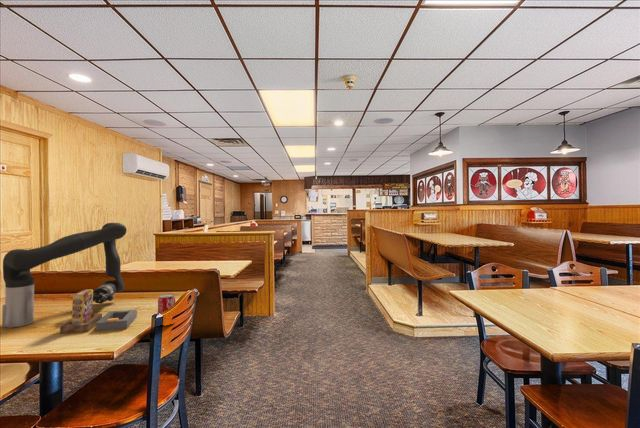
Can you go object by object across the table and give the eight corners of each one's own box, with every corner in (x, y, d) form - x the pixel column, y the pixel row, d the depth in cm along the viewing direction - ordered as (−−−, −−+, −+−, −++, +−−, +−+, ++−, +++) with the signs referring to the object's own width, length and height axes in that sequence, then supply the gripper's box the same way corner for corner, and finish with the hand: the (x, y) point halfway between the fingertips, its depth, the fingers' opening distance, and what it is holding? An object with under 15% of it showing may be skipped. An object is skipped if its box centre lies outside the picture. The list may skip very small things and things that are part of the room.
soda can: (168, 327, 135) (168, 297, 135) (153, 326, 136) (154, 296, 136) (178, 322, 142) (179, 293, 142) (165, 320, 143) (165, 292, 143)
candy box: (82, 329, 131) (83, 294, 131) (70, 330, 130) (71, 294, 130) (93, 322, 140) (93, 289, 140) (82, 323, 139) (82, 289, 139)
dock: (95, 331, 130) (96, 321, 130) (109, 318, 145) (109, 309, 145) (127, 328, 133) (127, 318, 133) (136, 316, 149) (137, 307, 149)
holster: (60, 334, 127) (60, 326, 127) (76, 321, 141) (76, 315, 141) (88, 331, 130) (89, 324, 130) (101, 319, 144) (102, 313, 144)
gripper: (86, 287, 156) (71, 295, 141) (118, 285, 161) (108, 292, 145) (86, 302, 156) (71, 311, 141) (118, 299, 161) (107, 308, 145)
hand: (90, 302), depth 143 cm, fingers open, 8 cm apart
